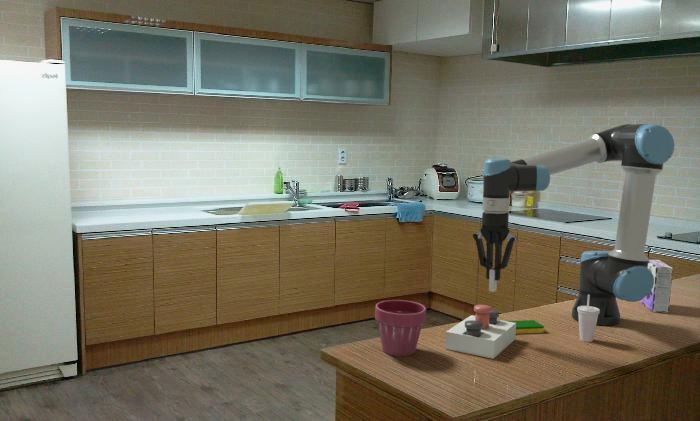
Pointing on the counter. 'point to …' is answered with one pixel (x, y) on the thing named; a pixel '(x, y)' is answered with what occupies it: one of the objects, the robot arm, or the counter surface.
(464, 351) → the mount
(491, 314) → the knob
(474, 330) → the knob
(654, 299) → the candy box
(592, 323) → the smoothie
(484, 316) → the pink round knob
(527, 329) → the dish sponge
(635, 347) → the counter surface
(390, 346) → the plant pot
